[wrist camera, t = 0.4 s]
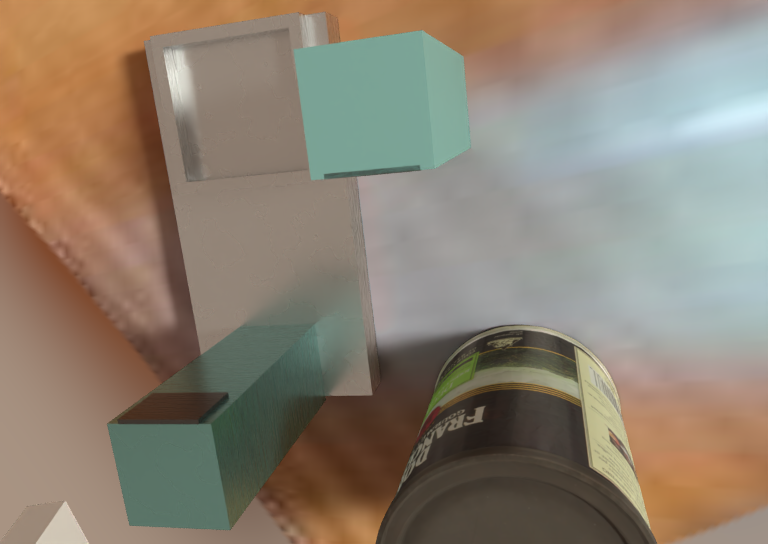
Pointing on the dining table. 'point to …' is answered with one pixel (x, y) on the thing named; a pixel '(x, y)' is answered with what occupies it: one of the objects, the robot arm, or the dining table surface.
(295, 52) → the mint green block
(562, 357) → the coffee can
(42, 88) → the dining table surface
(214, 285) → the grey base with post
